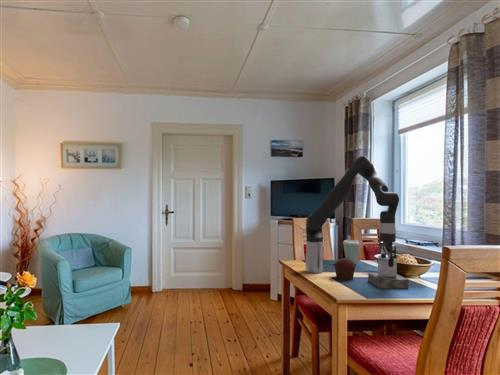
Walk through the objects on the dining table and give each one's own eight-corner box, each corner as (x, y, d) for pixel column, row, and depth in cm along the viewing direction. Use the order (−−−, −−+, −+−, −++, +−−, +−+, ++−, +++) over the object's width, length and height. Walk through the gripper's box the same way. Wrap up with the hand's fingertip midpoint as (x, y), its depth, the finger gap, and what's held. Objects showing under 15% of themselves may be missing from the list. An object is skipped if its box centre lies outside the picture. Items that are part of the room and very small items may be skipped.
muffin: (331, 275, 190) (331, 256, 190) (352, 275, 190) (352, 257, 190) (337, 280, 178) (337, 260, 178) (358, 280, 178) (358, 261, 178)
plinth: (379, 288, 163) (379, 279, 163) (368, 280, 177) (368, 273, 177) (408, 288, 164) (408, 279, 164) (395, 280, 178) (395, 273, 178)
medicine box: (393, 275, 173) (393, 257, 173) (397, 277, 168) (397, 259, 169) (377, 275, 173) (377, 257, 173) (381, 277, 168) (381, 259, 168)
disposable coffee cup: (362, 265, 217) (362, 241, 217) (344, 265, 217) (344, 241, 218) (357, 262, 228) (357, 239, 228) (340, 262, 228) (340, 239, 228)
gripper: (374, 230, 178) (374, 262, 178) (386, 233, 164) (385, 267, 163) (388, 230, 178) (388, 262, 178) (401, 233, 164) (401, 267, 164)
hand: (387, 264), depth 171 cm, fingers open, 8 cm apart
